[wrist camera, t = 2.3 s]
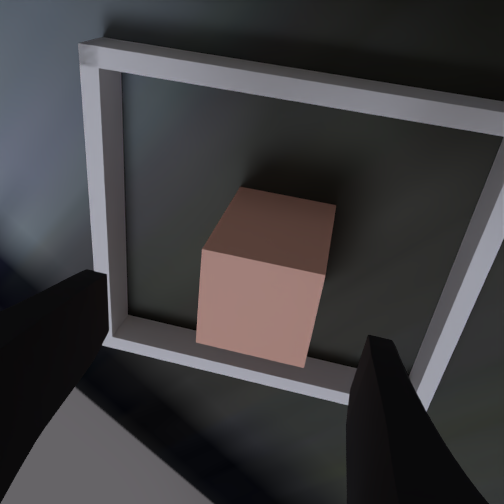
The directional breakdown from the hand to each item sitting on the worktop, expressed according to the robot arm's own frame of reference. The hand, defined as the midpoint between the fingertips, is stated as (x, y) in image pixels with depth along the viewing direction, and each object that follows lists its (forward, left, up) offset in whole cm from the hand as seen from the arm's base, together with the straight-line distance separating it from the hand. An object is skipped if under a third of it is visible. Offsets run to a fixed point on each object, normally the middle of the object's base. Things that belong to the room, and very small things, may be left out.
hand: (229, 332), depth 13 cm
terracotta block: (0, +3, -11) cm, 11 cm away
